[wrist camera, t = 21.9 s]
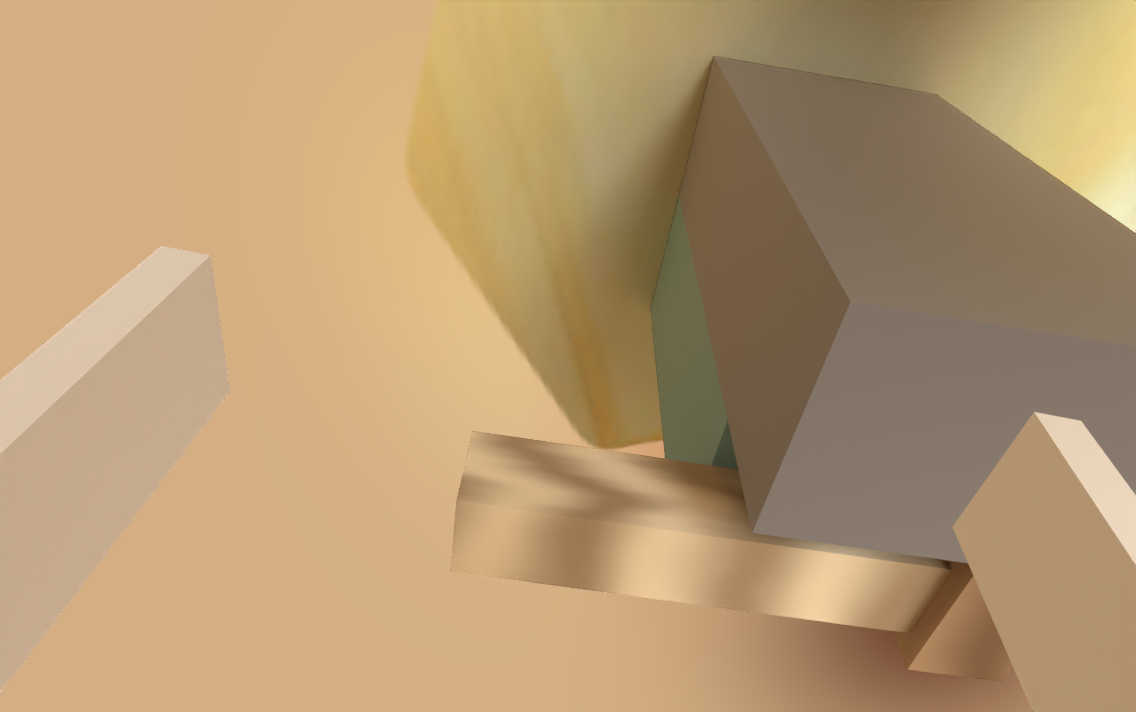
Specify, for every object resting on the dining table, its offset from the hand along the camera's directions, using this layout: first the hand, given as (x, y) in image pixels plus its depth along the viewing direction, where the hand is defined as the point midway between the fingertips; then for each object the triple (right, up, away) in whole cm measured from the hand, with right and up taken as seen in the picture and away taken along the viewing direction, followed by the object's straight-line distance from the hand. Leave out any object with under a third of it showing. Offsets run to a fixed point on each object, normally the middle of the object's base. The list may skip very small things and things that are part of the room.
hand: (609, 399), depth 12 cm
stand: (+14, +10, +38) cm, 41 cm away
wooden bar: (+6, -6, +20) cm, 22 cm away
